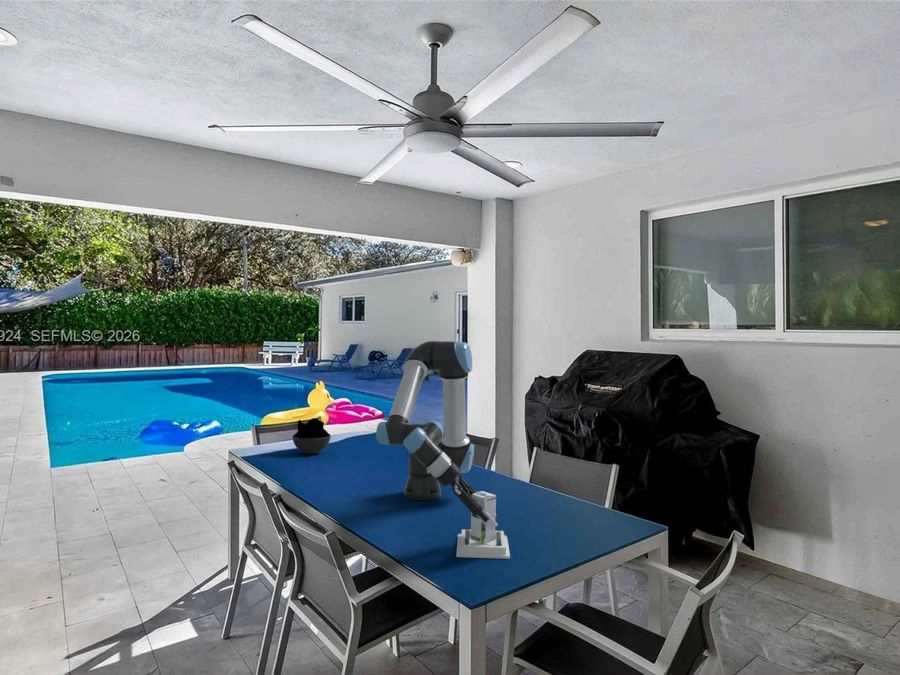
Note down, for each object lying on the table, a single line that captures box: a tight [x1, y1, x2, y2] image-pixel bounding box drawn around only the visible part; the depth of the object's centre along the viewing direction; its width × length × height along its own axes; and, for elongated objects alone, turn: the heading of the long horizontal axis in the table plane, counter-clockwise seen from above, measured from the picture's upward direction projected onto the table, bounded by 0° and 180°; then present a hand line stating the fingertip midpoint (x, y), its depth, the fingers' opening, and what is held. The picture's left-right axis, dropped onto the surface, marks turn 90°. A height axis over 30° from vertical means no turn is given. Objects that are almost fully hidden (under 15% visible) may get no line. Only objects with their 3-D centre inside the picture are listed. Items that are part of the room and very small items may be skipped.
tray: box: [456, 529, 511, 560], centre depth 166 cm, size 16×16×5 cm
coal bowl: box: [292, 417, 332, 455], centre depth 287 cm, size 20×20×19 cm
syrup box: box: [470, 490, 497, 545], centre depth 166 cm, size 6×6×14 cm
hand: (493, 522), depth 166 cm, fingers closed on syrup box, 8 cm apart
